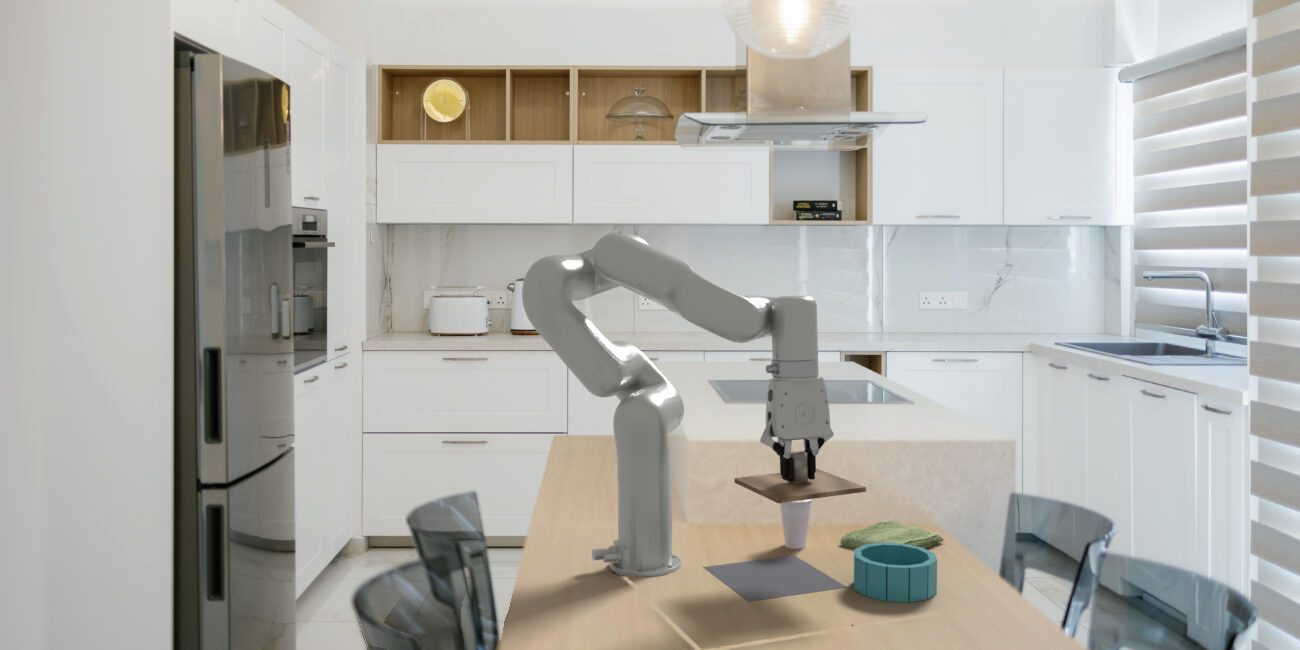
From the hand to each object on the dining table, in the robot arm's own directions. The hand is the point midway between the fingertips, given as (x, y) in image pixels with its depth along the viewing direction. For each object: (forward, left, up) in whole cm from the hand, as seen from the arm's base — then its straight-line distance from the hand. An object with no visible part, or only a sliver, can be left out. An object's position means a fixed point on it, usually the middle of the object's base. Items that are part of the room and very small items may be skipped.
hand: (798, 478), depth 158 cm
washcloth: (+27, +12, -18) cm, 35 cm away
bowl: (+13, -9, -18) cm, 24 cm away
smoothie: (+9, +17, -18) cm, 26 cm away
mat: (-3, +3, -18) cm, 18 cm away
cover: (0, 0, -2) cm, 2 cm away
